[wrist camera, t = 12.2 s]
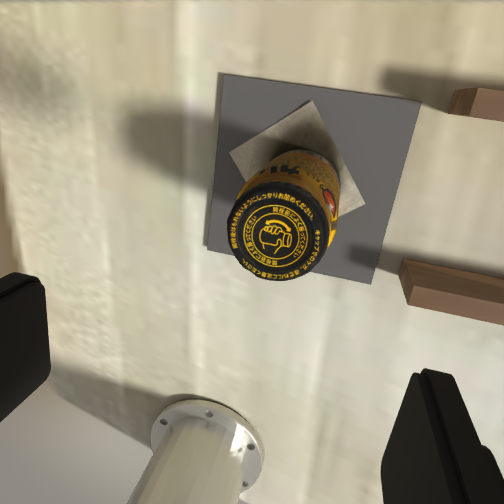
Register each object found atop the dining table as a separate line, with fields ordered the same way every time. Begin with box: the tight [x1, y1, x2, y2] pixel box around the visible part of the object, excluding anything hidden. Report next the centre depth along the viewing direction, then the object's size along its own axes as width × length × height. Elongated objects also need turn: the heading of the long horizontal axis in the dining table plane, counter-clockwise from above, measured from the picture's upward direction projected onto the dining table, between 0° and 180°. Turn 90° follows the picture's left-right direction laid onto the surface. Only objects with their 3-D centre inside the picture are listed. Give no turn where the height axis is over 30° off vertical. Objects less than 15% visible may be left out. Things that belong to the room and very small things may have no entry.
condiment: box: [227, 101, 365, 281], centre depth 25 cm, size 7×8×12 cm
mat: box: [207, 74, 422, 284], centre depth 30 cm, size 14×14×1 cm
